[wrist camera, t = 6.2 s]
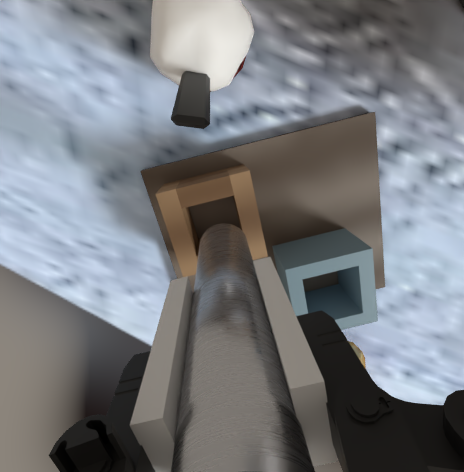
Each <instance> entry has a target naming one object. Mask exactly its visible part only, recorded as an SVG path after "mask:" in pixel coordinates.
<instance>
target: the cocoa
mask: <svg viewBox="0 0 464 472" xmlns="http://www.w3.org/2000/svg"><path fill="white" fill-rule="evenodd" d="M253 35H254V29H253V24H252V19H251V14H250V13H249V12H248V10H247V9H246V8H245V7H244V5H243V4H242V3H241V0H153V4H152V14H151V46H150V57H151V59H152V61H153V62H154V64H155V65H156V67H157V68H158V70H159V71H160V72H161V74H162V75H164V76H165V77H167V78H168V79H170V80H171V81H173V82H174V83H176V84H177V85H179V88H178V92H177V96H176V100H175V104H174V108H173V112H172V116H171V120H172V121H173V122H174V123H175V124H176V125H178V126H186V127H194V128H202V129H204V128H205V127H207V126H208V125H209V124H210V92H211V91H216V90H219V89H221V88H223V87H226V86H228V85H230V83H231V81H232V79H233V78H234V77H235V76H236V75H237V74H238V72H239V71H240V70H241V69H242V68H243V65H244V61H245V58H246V55H247V53H248V51H249V47H250V44H251V41H252V38H253Z"/></svg>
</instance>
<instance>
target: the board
mask: <svg viewBox="0 0 464 472" xmlns="http://www.w3.org/2000/svg"><path fill="white" fill-rule="evenodd" d="M242 164H244V165H245V166H246V167H247V168H248V169H249V170H250V174H251V179H252V184H253V189H254V193H255V198H256V203H257V207H258V212H259V217H260V222H261V226H262V231H263V236H264V240H265V245H266V250H267V255H268V257H271V259H272V262H273V264H274V266H275V269H276V271H277V267H276V262H275V257H274V252H273V247H272V246H275V245H279V244H283V243H287V242H291V241H295V240H299V239H303V238H307V237H311V236H315V235H319V234H323V233H327V232H331V231H335V230H339V229H343V228H345V229H347V230H348V231H349V232H351V233H352V234H353V235H355V236H356V237H358V238H359V239H360V240H362V241H363V242H364V243H366V244H367V245H369V246H370V247H371V248H373V261H374V275H375V289H379V288H383V287H385V278H384V260H383V242H382V225H381V207H380V189H379V172H378V154H377V136H376V119H375V112H371V113H366V114H362V115H358V116H355V117H351V118H347V119H343V120H339V121H335V122H331V123H327V124H323V125H319V126H315V127H311V128H307V129H303V130H299V131H295V132H291V133H287V134H283V135H279V136H275V137H271V138H267V139H263V140H259V141H255V142H251V143H247V144H243V145H240V146H236V147H232V148H228V149H224V150H220V151H216V152H212V153H208V154H204V155H200V156H196V157H192V158H188V159H184V160H180V161H176V162H172V163H168V164H164V165H160V166H156V167H152V168H148V169H144V170H142V171H141V174H142V177H143V180H144V183H145V186H146V189H147V192H148V195H149V198H150V200H151V203H152V206H153V209H154V212H155V215H156V218H157V221H158V224H159V227H160V230H161V232H162V235H163V238H164V241H165V244H166V247H167V250H168V253H169V256H170V259H171V262H172V264H173V267H174V270H175V273H176V276H177V279H179V278H183V275H182V272H181V269H180V266H179V263H178V260H177V257H176V254H175V251H174V248H173V245H172V242H171V239H170V236H169V233H168V230H167V227H166V224H165V221H164V218H163V215H162V212H161V209H160V206H159V203H158V200H157V197H156V193H157V192H158V190H159V189H160V188H161V187H162V186H163V184H167V183H171V182H175V181H179V180H183V179H187V178H191V177H195V176H199V175H203V174H207V173H211V172H215V171H219V170H222V169H226V168H230V167H234V166H238V165H242ZM189 210H190V213H191V217H192V220H193V223H194V227H195V230H196V233H197V237H198V239H199V238H201V237H202V235H203V234H204V232H205V231H206V230H207V229H209V228H210V227H212V226H214V225H216V224H221V223H227V224H232V225H234V226H236V227H238V228H240V223H239V219H238V215H237V211H236V207H235V203H234V198H233V196H230V197H226V198H222V199H218V200H214V201H210V202H206V203H202V204H198V205H194V206H190V207H189ZM264 258H266V257H264ZM260 259H262V258H260ZM256 260H258V259H256ZM253 261H254V260H253ZM277 273H278V272H277ZM195 277H196V274H195V275H191V276H188V278H189V281H190V284H191V288H192V291H193V293H194V285H195ZM302 280H303V286H304V292H307V291H312V290H316V289H320V288H324V287H328V286H332V285H336V284H339V282H338V274H337V271H335V272H331V273H327V274H323V275H319V276H315V277H310V278H306V279H302Z"/></svg>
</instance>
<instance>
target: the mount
mask: <svg viewBox="0 0 464 472" xmlns="http://www.w3.org/2000/svg"><path fill="white" fill-rule="evenodd" d="M230 196H233V198H234V203H235V207H236V211H237V215H238V219H239V223H240V228H239V229H240V230H242V232H243V233H244V234H245V236H246V238H247V242H248V245H249V248H250V252H251V255H252V259H253V260H256V259H260V258H264V257H268V255H267V250H266V245H265V240H264V236H263V231H262V226H261V222H260V217H259V212H258V207H257V203H256V198H255V193H254V189H253V184H252V179H251V174H250V170H249V169H248V168H247V167H246V166H245V165H244V164H242V165H238V166H234V167H230V168H226V169H222V170H219V171H215V172H211V173H207V174H203V175H199V176H195V177H191V178H187V179H183V180H179V181H175V182H171V183H167V184H163V186H162V187H161V188H160V189H159V190H158V192H157V193H156V197H157V200H158V203H159V206H160V209H161V212H162V215H163V218H164V221H165V224H166V227H167V230H168V233H169V236H170V239H171V242H172V245H173V248H174V251H175V254H176V257H177V260H178V263H179V266H180V269H181V272H182V275H183V277H187V276H191V275H195V274H196V269H197V261H198V253H199V245H200V240H201V238H199V239H198V237H197V233H196V230H195V227H194V223H193V220H192V217H191V213H190V210H189V207H190V206H194V205H198V204H202V203H206V202H210V201H214V200H218V199H222V198H226V197H230Z"/></svg>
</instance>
